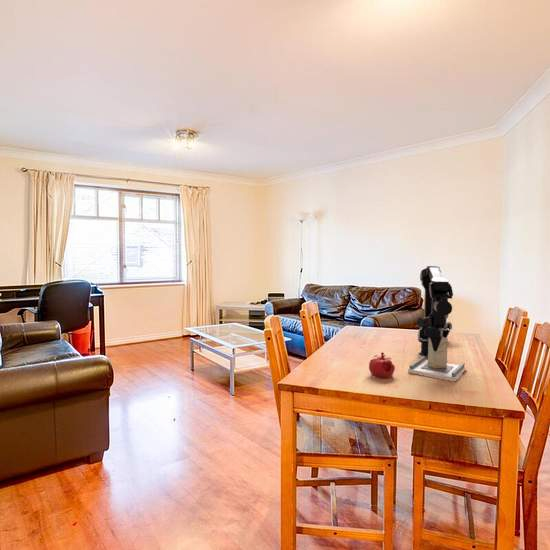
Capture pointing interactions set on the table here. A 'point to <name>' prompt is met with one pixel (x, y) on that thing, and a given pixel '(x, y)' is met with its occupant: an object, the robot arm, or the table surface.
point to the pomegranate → (381, 366)
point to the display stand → (437, 370)
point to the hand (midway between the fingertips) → (437, 349)
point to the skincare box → (438, 354)
